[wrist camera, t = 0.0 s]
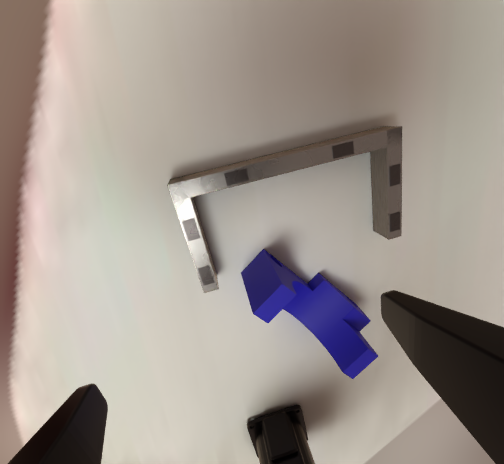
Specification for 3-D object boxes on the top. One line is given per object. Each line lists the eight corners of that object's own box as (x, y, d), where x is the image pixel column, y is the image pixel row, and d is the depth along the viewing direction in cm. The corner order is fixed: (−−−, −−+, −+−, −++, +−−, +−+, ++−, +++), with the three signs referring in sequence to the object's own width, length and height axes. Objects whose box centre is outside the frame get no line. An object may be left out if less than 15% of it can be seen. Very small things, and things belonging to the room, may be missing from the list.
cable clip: (354, 302, 28) (391, 344, 23) (323, 331, 29) (352, 379, 24) (274, 235, 24) (297, 268, 19) (240, 271, 25) (252, 313, 19)
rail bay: (385, 227, 26) (401, 236, 23) (203, 279, 24) (204, 293, 22) (383, 126, 22) (402, 126, 20) (170, 179, 20) (167, 185, 18)
